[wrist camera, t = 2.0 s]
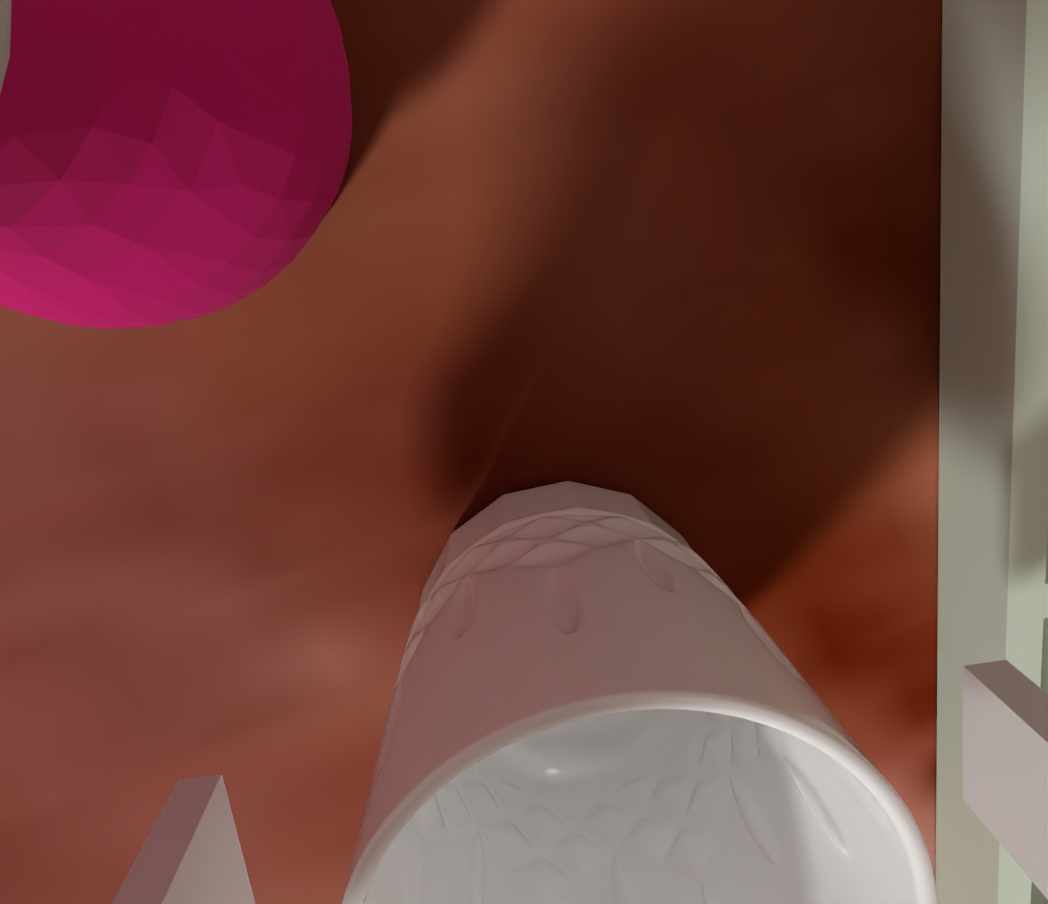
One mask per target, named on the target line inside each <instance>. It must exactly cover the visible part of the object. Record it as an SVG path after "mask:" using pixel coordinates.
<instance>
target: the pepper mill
mask: <svg viewBox="0 0 1048 904" xmlns="http://www.w3.org/2000/svg"><path fill="white" fill-rule="evenodd" d="M352 132H353V127H352V106H351V97H350V73H349V67H348V62H347V58H346V53H345V48H344V43H343V38H342V33H341V29H340V25H339V22H338V19H337V17H336V14H335V12H334V9H333V7H332V4H331V2H330V0H0V305H2V306H4V307H7V308H10V309H14V310H17V311H20V312H23V313H26V314H29V315H32V316H35V317H40V318H44V319H48V320H52V321H56V322H60V323H64V324H68V325H72V326H82V327H93V328H104V329H119V328H131V327H144V326H157V325H162V324H168V323H173V322H178V321H182V320H186V319H191V318H195V317H200V316H204V315H207V314H210V313H212V312H214V311H217V310H219V309H222V308H224V307H227V306H229V305H232V304H234V303H237V302H238V301H240V300H241V299H243V298H245V297H246V296H248V295H250V294H251V293H253V292H255V291H256V290H258V289H259V288H261V287H263V286H264V285H266V284H267V283H268V282H269V281H270V280H271V279H273V278H274V277H275V276H276V275H277V274H278V273H279V272H280V271H282V270H283V269H284V268H285V267H286V266H287V265H288V264H290V263H291V262H292V260H293V259H294V258H295V257H296V255H297V254H298V253H299V252H300V250H301V249H302V248H303V247H304V245H305V244H306V243H307V242H308V241H309V239H310V238H311V237H312V236H313V234H314V232H315V231H316V229H317V227H318V226H319V224H320V222H321V220H322V219H323V217H324V216H325V215H326V214H327V212H328V210H329V208H330V207H331V205H332V203H333V201H334V199H335V198H336V196H337V194H338V192H339V189H340V187H341V184H342V181H343V178H344V175H345V171H346V168H347V164H348V160H349V155H350V147H351V140H352Z"/></svg>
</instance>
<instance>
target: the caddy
mask: <svg viewBox="0 0 1048 904" xmlns="http://www.w3.org/2000/svg"><path fill="white" fill-rule="evenodd" d="M1000 660H1007V661H1008V662H1009V663H1011V664H1012V665H1013V666H1014V667H1015V668H1017V669H1018V670H1019V671H1020V672H1022V673H1023V674H1024V675H1025V676H1026V677H1028V678H1029V679H1030V680H1031V681H1032V682H1034V683H1035V684H1036V685H1037V686H1038V687H1040V688H1041V689H1042V690H1043V691H1044V692H1046V693H1047V694H1048V0H942V110H941V246H940V382H939V517H938V653H937V789H936V891H937V903H938V904H1048V900H1047V898H1046V897H1045V896H1044V895H1043V894H1042V892H1041V891H1040V890H1039V889H1038V888H1037V887H1036V885H1035V884H1034V883H1033V882H1032V881H1031V879H1030V878H1029V877H1028V876H1027V875H1026V873H1025V872H1024V871H1023V870H1022V869H1021V868H1020V866H1019V865H1018V864H1017V863H1016V862H1015V860H1014V859H1013V858H1012V857H1011V856H1010V854H1009V853H1008V852H1007V851H1006V850H1005V849H1004V847H1003V846H1002V845H1001V844H1000V843H999V841H998V840H997V839H996V838H995V837H994V835H993V834H992V833H991V832H990V831H989V830H988V828H987V827H986V826H985V825H984V824H983V822H982V821H981V820H980V819H979V818H978V816H977V815H976V814H975V813H974V812H973V811H972V809H971V808H970V807H969V806H968V805H967V803H966V802H965V801H964V800H963V666H966V665H972V664H979V663H986V662H993V661H1000Z"/></svg>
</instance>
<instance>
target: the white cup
mask: <svg viewBox="0 0 1048 904" xmlns="http://www.w3.org/2000/svg"><path fill="white" fill-rule="evenodd" d="M342 904H938V903H937V891H936V883H935V877H934V872H933V868H932V864H931V860H930V857H929V854H928V851H927V848H926V845H925V842H924V840H923V837H922V835H921V832H920V830H919V828H918V826H917V824H916V822H915V820H914V818H913V816H912V815H911V813H910V811H909V810H908V808H907V807H906V805H905V803H904V802H903V800H902V799H901V798H900V796H899V795H898V793H897V792H896V791H895V789H894V788H893V787H892V786H891V784H890V783H889V782H888V781H887V780H886V778H885V777H884V776H883V775H882V773H881V772H880V771H879V770H878V769H877V767H876V766H875V765H874V764H873V763H872V761H871V760H870V759H869V758H868V756H867V755H866V754H865V753H864V751H863V750H862V749H861V748H860V747H859V745H858V744H857V743H856V742H855V740H854V739H853V738H852V737H851V736H850V734H849V733H848V732H847V731H846V729H845V728H844V727H843V726H842V725H841V723H840V722H839V721H838V720H837V718H836V717H835V716H834V715H833V713H832V712H831V711H830V710H829V708H828V707H827V706H826V705H825V704H824V702H823V701H822V700H821V699H820V697H819V696H818V695H817V694H816V692H815V691H814V690H813V689H812V687H811V686H810V685H809V684H808V682H807V681H806V680H805V679H804V677H803V676H802V675H801V674H800V672H799V671H798V670H797V669H796V667H795V666H794V665H793V664H792V662H791V661H790V660H789V659H788V657H787V656H786V655H785V654H784V652H783V651H782V650H781V649H780V647H779V646H778V645H777V644H776V642H775V641H774V640H773V639H772V637H771V636H770V635H769V634H768V632H767V631H766V630H765V629H764V628H763V626H762V625H761V624H760V623H759V622H758V621H757V619H756V618H755V617H754V616H753V615H752V614H751V613H750V612H749V611H748V610H747V608H746V607H745V606H744V605H743V604H742V603H741V602H740V601H739V600H738V599H737V597H736V596H735V595H734V594H733V593H732V591H731V590H730V588H729V587H728V586H727V585H726V584H725V583H724V582H723V580H722V579H721V578H720V577H719V576H718V575H717V574H716V573H715V572H714V571H713V569H712V568H711V567H710V566H709V565H708V564H707V563H706V562H705V561H704V560H703V559H702V558H701V557H700V556H699V555H698V554H697V553H695V552H694V551H693V550H692V548H691V547H690V546H689V545H688V543H687V542H686V541H685V539H684V538H683V537H682V535H681V534H680V533H679V532H678V531H676V530H675V529H674V528H673V527H671V526H670V525H669V524H667V523H666V522H665V521H664V520H662V519H661V518H660V517H659V516H657V515H656V514H655V513H654V512H652V511H651V510H650V509H649V508H647V507H646V506H645V505H644V504H642V503H641V502H640V501H639V500H637V499H636V498H635V497H634V496H632V495H631V494H626V493H622V492H617V491H613V490H608V489H604V488H599V487H595V486H590V485H586V484H581V483H577V482H572V481H563V482H559V483H554V484H549V485H545V486H540V487H536V488H531V489H526V490H522V491H517V492H512V493H508V494H504V495H502V496H501V497H499V498H498V499H497V500H495V501H494V502H493V503H491V504H490V505H489V506H487V507H486V508H485V509H483V510H482V511H481V512H479V513H478V514H477V515H475V516H474V517H473V518H471V519H470V520H469V521H467V522H466V523H465V524H463V525H462V526H461V527H459V528H458V529H457V530H455V531H454V532H453V533H452V534H451V535H450V537H449V539H448V541H447V543H446V545H445V547H444V549H443V551H442V553H441V555H440V557H439V558H438V560H437V562H436V564H435V566H434V568H433V570H432V572H431V574H430V576H429V578H428V580H427V582H426V584H425V586H424V588H423V591H422V595H421V600H420V605H419V610H418V613H417V616H416V618H415V621H414V624H413V626H412V629H411V632H410V635H409V638H408V641H407V644H406V647H405V651H404V654H403V657H402V662H401V667H400V672H399V675H398V678H397V681H396V685H395V688H394V691H393V694H392V698H391V701H390V704H389V708H388V712H387V716H386V721H385V725H384V729H383V734H382V738H381V742H380V746H379V751H378V755H377V759H376V763H375V768H374V772H373V776H372V780H371V785H370V789H369V793H368V797H367V802H366V806H365V810H364V814H363V818H362V822H361V826H360V831H359V835H358V839H357V843H356V847H355V851H354V855H353V859H352V863H351V867H350V871H349V875H348V880H347V884H346V888H345V892H344V896H343V900H342Z"/></svg>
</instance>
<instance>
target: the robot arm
mask: <svg viewBox="0 0 1048 904" xmlns="http://www.w3.org/2000/svg"><path fill="white" fill-rule="evenodd" d="M963 800H964V801H965V802H966V803H967V805H968V806H969V807H970V808H971V809H972V811H973V812H974V813H975V814H976V815H977V816H978V818H979V819H980V820H981V821H982V822H983V824H984V825H985V826H986V827H987V828H988V830H989V831H990V832H991V833H992V834H993V835H994V837H995V838H996V839H997V840H998V841H999V843H1000V844H1001V845H1002V846H1003V847H1004V849H1005V850H1006V851H1007V852H1008V853H1009V854H1010V856H1011V857H1012V858H1013V859H1014V860H1015V862H1016V863H1017V864H1018V865H1019V866H1020V868H1021V869H1022V870H1023V871H1024V872H1025V873H1026V875H1027V876H1028V877H1029V878H1030V879H1031V881H1032V882H1033V883H1034V884H1035V885H1036V887H1037V888H1038V889H1039V890H1040V891H1041V892H1042V894H1043V895H1044V896H1045V897H1046V898H1047V900H1048V694H1047V693H1046V692H1044V691H1043V690H1042V689H1041V688H1040V687H1038V686H1037V685H1036V684H1035V683H1034V682H1032V681H1031V680H1030V679H1029V678H1028V677H1026V676H1025V675H1024V674H1023V673H1022V672H1020V671H1019V670H1018V669H1017V668H1015V667H1014V666H1013V665H1012V664H1011V663H1009V662H1008V661H1007V660H1000V661H993V662H986V663H979V664H972V665H966V666H963ZM112 904H255V901H254V897H253V893H252V889H251V885H250V882H249V878H248V874H247V870H246V866H245V862H244V858H243V854H242V851H241V847H240V843H239V839H238V835H237V831H236V827H235V823H234V820H233V816H232V812H231V808H230V804H229V800H228V796H227V792H226V788H225V785H224V781H223V777H222V774H217V775H210V776H203V777H196V778H189V779H182V780H178V781H177V782H176V784H175V786H174V788H173V790H172V792H171V794H170V796H169V797H168V799H167V801H166V803H165V805H164V807H163V809H162V811H161V812H160V814H159V816H158V818H157V820H156V822H155V824H154V826H153V827H152V829H151V831H150V833H149V835H148V837H147V839H146V841H145V842H144V844H143V846H142V848H141V850H140V852H139V854H138V856H137V857H136V859H135V861H134V863H133V865H132V867H131V869H130V871H129V872H128V874H127V876H126V878H125V880H124V882H123V884H122V886H121V887H120V889H119V891H118V893H117V895H116V897H115V899H114V900H113V902H112Z"/></svg>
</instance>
